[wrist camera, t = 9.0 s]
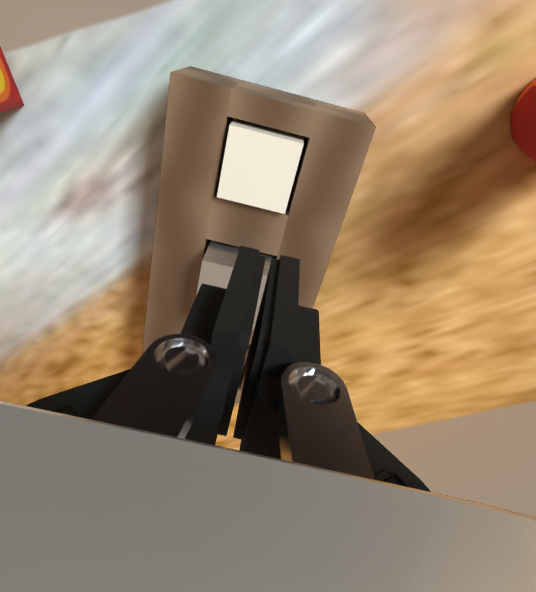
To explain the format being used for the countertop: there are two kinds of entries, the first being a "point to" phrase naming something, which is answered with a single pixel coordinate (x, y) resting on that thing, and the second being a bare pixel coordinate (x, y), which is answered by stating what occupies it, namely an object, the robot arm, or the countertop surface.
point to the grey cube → (226, 268)
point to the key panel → (236, 216)
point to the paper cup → (525, 121)
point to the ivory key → (259, 165)
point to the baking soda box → (8, 87)
